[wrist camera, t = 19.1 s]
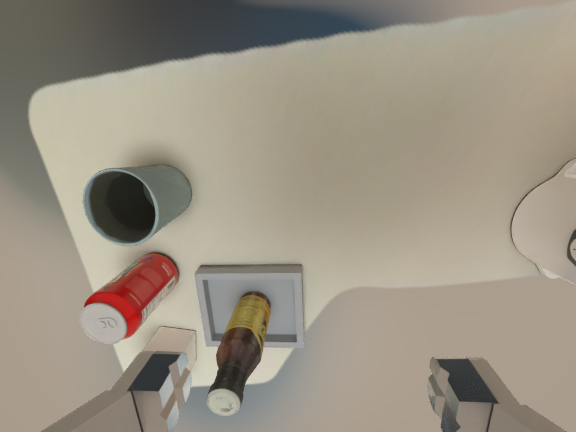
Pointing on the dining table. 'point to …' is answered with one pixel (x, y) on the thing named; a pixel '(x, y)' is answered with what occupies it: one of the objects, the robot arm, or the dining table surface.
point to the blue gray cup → (135, 201)
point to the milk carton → (174, 343)
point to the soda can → (128, 299)
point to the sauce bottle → (239, 352)
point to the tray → (244, 279)
